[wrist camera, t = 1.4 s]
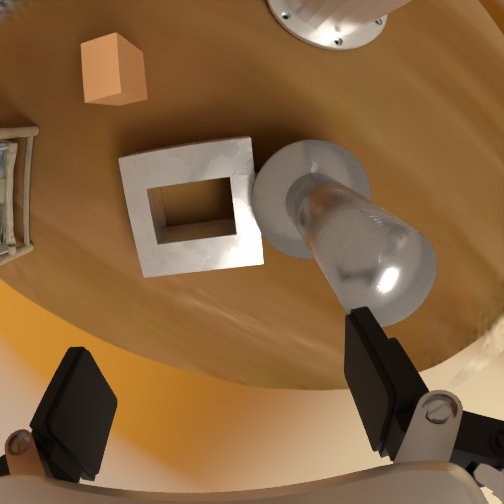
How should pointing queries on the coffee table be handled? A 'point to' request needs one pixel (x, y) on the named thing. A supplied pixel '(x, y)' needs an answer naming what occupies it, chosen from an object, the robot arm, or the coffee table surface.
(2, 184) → the swing bench
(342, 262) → the bracket head
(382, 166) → the coffee table surface
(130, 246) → the coffee table surface
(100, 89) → the orange rectangular block
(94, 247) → the coffee table surface
